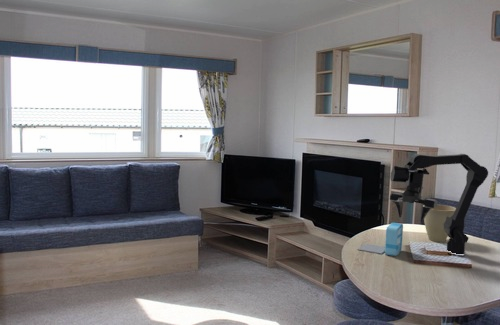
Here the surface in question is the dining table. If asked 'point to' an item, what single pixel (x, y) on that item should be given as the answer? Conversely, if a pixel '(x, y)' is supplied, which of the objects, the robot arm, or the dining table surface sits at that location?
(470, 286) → the dining table surface
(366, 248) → the gray flat panel
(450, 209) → the plant pot
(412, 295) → the dining table surface
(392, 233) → the data package
